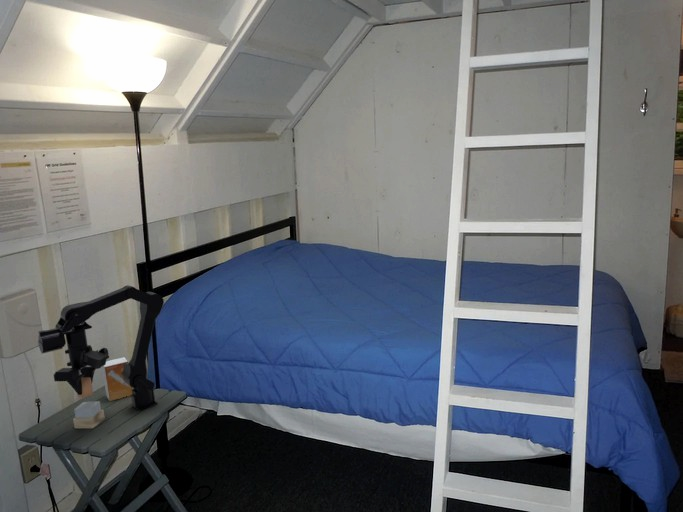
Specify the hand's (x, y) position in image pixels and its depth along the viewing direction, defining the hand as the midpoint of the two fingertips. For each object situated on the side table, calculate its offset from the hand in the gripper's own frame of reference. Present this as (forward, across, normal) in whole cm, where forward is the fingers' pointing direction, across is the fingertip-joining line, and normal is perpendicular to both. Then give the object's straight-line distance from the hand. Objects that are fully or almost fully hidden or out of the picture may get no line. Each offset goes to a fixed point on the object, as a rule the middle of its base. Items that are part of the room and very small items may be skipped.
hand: (84, 391), depth 176 cm
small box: (+11, +22, +2) cm, 24 cm away
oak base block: (+11, 0, 0) cm, 11 cm away
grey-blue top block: (+8, 0, 0) cm, 8 cm away
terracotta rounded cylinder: (+1, 0, 0) cm, 1 cm away
